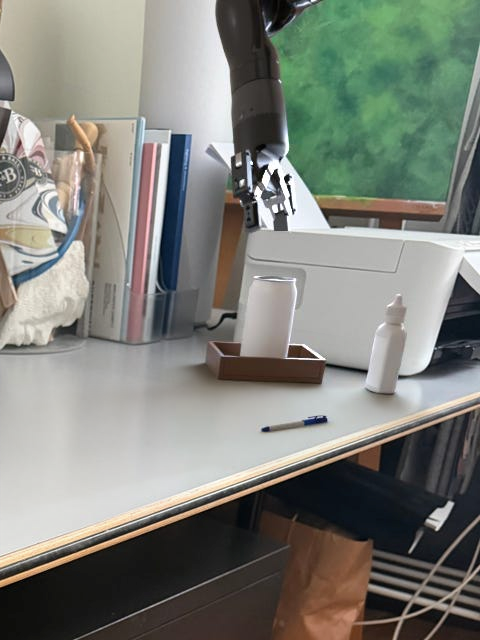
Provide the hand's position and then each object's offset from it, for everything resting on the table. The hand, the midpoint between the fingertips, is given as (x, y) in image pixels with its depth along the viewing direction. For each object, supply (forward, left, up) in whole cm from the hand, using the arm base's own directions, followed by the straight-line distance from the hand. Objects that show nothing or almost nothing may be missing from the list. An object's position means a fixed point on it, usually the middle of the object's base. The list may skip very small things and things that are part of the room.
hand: (268, 237), depth 135 cm
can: (+1, +10, -17) cm, 20 cm away
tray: (+1, +10, -17) cm, 20 cm away
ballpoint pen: (+3, +41, -17) cm, 45 cm away
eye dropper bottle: (-13, +20, -17) cm, 29 cm away
